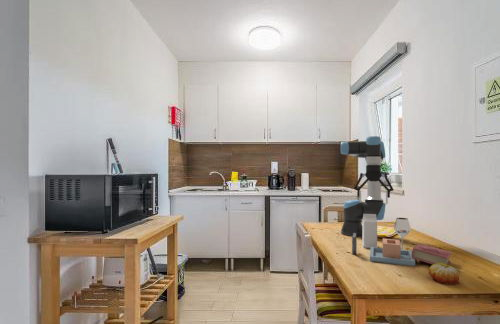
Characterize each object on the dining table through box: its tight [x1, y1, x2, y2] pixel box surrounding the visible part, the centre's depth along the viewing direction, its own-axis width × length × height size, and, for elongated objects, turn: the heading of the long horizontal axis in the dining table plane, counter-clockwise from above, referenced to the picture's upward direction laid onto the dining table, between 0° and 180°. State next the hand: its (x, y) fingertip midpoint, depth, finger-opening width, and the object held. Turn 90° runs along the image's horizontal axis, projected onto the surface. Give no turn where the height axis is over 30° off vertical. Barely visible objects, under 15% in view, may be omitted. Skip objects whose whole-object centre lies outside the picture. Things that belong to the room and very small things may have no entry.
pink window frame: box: [382, 238, 401, 259], centre depth 162 cm, size 14×8×8 cm, turn 158°
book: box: [411, 243, 453, 266], centre depth 156 cm, size 14×15×5 cm
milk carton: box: [361, 214, 378, 249], centre depth 186 cm, size 7×7×19 cm
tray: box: [369, 246, 416, 267], centre depth 163 cm, size 20×20×2 cm
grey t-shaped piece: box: [351, 233, 358, 256], centre depth 170 cm, size 5×2×11 cm, turn 158°
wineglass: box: [393, 217, 412, 250], centre depth 177 cm, size 8×8×18 cm
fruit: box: [428, 263, 460, 285], centre depth 132 cm, size 11×10×8 cm
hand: (373, 203), depth 176 cm, fingers open, 13 cm apart
